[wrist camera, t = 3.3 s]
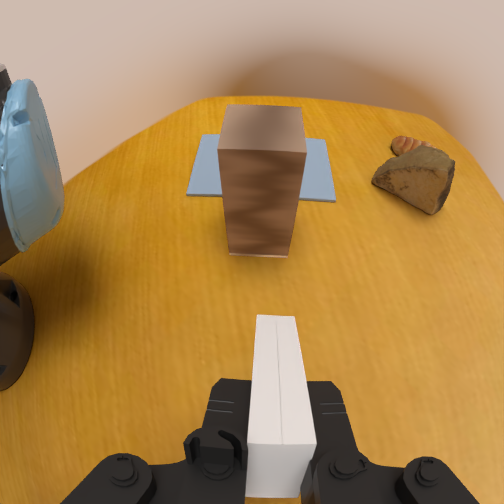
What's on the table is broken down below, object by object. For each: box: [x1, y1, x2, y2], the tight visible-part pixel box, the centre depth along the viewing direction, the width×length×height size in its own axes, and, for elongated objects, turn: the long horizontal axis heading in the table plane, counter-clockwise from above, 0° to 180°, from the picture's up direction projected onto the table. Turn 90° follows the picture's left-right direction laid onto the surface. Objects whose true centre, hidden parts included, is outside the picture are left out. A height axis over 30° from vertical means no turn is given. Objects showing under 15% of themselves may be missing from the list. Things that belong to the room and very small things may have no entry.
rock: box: [372, 145, 455, 214], centre depth 34 cm, size 11×9×10 cm
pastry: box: [391, 136, 437, 156], centre depth 39 cm, size 9×7×4 cm
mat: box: [186, 134, 336, 202], centre depth 38 cm, size 18×12×1 cm, turn 87°
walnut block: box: [217, 105, 307, 258], centre depth 26 cm, size 6×6×14 cm
